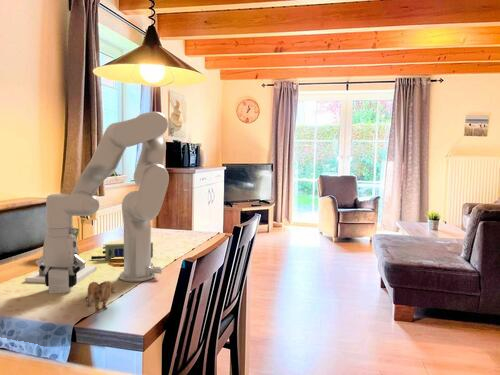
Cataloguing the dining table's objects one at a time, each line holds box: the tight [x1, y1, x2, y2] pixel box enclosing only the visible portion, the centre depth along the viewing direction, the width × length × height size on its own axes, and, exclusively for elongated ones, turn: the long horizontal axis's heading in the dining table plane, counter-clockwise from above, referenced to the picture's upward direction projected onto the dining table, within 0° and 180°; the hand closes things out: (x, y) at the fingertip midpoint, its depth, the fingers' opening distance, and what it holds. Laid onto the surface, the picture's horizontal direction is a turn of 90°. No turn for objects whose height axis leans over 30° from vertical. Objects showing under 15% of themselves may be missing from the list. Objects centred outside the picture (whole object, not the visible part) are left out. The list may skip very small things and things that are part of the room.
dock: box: [24, 263, 98, 285], centre depth 140 cm, size 18×16×4 cm
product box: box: [48, 267, 73, 294], centre depth 126 cm, size 6×6×7 cm
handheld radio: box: [90, 242, 154, 261], centre depth 164 cm, size 7×3×25 cm
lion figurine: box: [84, 280, 117, 314], centre depth 113 cm, size 15×5×9 cm, turn 51°
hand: (61, 285), depth 126 cm, fingers closed on product box, 7 cm apart
